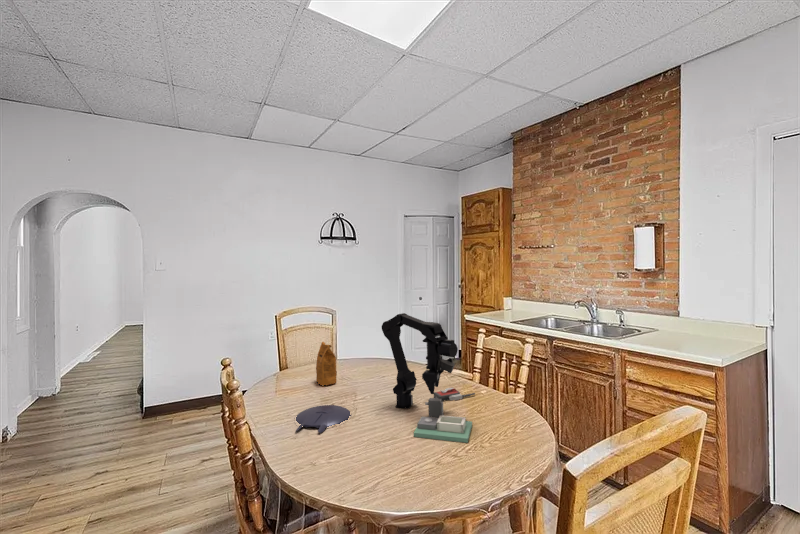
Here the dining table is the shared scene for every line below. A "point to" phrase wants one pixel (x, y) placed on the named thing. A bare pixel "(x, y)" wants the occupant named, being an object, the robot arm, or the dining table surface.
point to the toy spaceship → (322, 416)
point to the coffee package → (326, 366)
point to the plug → (435, 407)
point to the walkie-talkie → (450, 394)
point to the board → (444, 428)
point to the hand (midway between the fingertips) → (434, 390)
